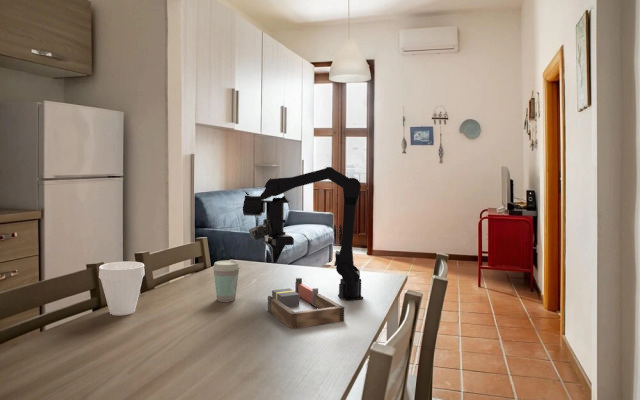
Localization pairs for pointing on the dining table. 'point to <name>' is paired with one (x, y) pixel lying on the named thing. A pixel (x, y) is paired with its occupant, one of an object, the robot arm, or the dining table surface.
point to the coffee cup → (226, 279)
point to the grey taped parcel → (286, 297)
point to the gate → (305, 291)
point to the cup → (121, 285)
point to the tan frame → (308, 313)
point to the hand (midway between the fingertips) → (274, 262)
